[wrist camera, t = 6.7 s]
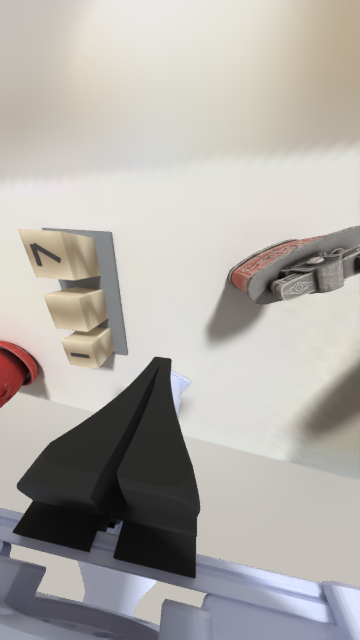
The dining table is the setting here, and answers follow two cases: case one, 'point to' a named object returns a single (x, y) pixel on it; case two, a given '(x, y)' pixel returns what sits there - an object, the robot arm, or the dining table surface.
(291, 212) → the dining table surface
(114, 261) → the felt strip
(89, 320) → the plain block
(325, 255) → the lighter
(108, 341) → the block one
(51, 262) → the block seven
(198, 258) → the dining table surface
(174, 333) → the dining table surface
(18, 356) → the plant pot
